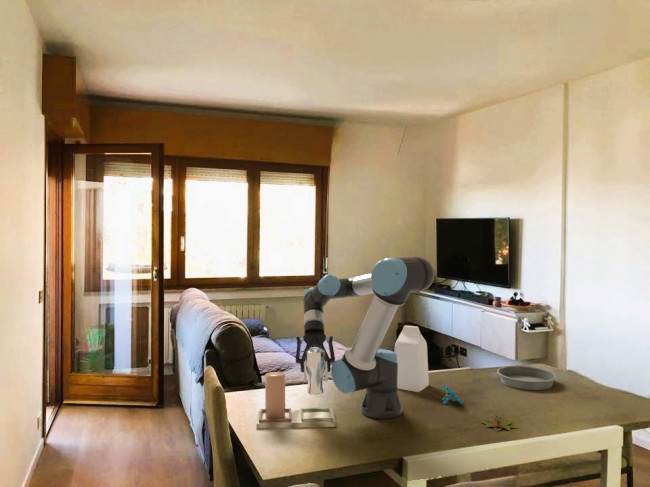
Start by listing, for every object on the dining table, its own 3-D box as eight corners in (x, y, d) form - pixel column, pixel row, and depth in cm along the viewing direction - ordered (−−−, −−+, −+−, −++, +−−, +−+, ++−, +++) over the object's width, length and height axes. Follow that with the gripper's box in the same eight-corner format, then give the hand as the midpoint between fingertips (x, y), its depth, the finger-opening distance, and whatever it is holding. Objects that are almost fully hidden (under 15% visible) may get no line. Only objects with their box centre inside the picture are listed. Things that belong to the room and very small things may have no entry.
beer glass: (318, 396, 188) (318, 353, 187) (301, 393, 191) (301, 351, 191) (328, 391, 194) (329, 349, 193) (312, 387, 197) (312, 347, 197)
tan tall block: (288, 415, 193) (288, 373, 193) (278, 421, 187) (278, 378, 186) (272, 412, 196) (272, 371, 196) (261, 418, 190) (261, 375, 189)
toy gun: (467, 403, 205) (447, 384, 206) (456, 415, 205) (437, 396, 205) (459, 398, 216) (441, 380, 217) (449, 409, 216) (431, 391, 216)
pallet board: (332, 413, 199) (332, 406, 199) (335, 426, 186) (335, 419, 186) (258, 415, 198) (258, 408, 197) (256, 428, 185) (256, 420, 184)
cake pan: (494, 387, 232) (494, 377, 232) (499, 373, 255) (499, 363, 255) (557, 394, 223) (557, 383, 223) (556, 378, 246) (556, 368, 245)
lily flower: (473, 423, 191) (473, 410, 191) (501, 418, 195) (501, 406, 195) (495, 435, 180) (495, 421, 180) (524, 430, 184) (524, 417, 184)
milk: (392, 387, 232) (392, 327, 231) (403, 381, 241) (403, 323, 240) (418, 392, 225) (419, 329, 224) (428, 385, 235) (429, 325, 234)
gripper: (339, 330, 208) (343, 384, 192) (287, 330, 206) (287, 385, 191) (340, 318, 202) (344, 374, 187) (287, 319, 201) (287, 374, 185)
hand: (316, 379), depth 189 cm, fingers closed on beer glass, 7 cm apart
